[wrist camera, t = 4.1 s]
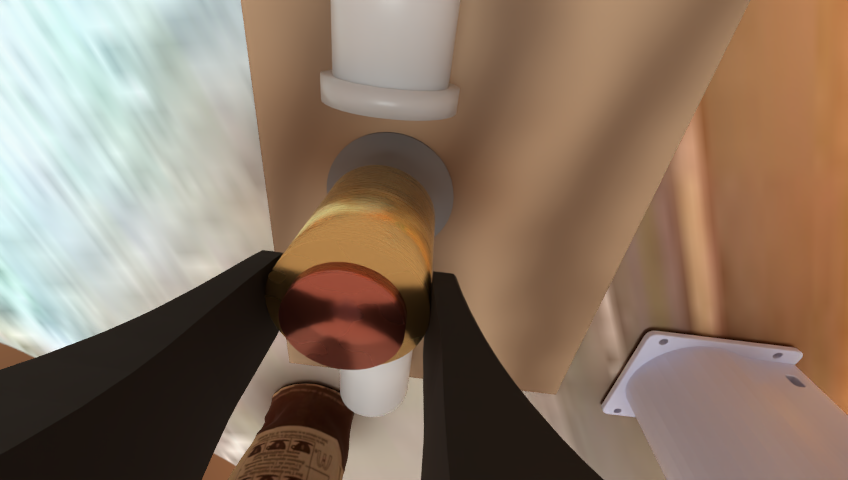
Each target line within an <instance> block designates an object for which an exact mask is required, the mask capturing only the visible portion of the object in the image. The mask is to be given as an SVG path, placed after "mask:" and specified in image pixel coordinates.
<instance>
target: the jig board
mask: <svg viewBox="0 0 848 480" xmlns="http://www.w3.org/2000/svg"><path fill="white" fill-rule="evenodd" d="M749 2H750V0H460V6H459V14H458V21H457V28H456V36H455V43H454V50H453V58H452V65H451V73H450V80H449V83H451V84H454V85H456V86H458V87H459V88H460V91H459V98H458V104H457V111H456V115H455V116H453V117H450V118H447V119H441V120H430V121H407V120H392V119H383V118H375V117H368V116H362V115H357V114H352V113H348V112H344V111H341V110H338V109H335V108H332V107H329V106H328V105H326V104H324V103H323V102H322V101H321V87H320V73H321V72H322V71H326V70H332V39H331V0H241V5H242V13H243V20H244V28H245V35H246V42H247V50H248V57H249V65H250V72H251V80H252V87H253V94H254V102H255V109H256V117H257V124H258V132H259V139H260V146H261V154H262V161H263V169H264V176H265V184H266V191H267V198H268V206H269V213H270V221H271V228H272V236H273V243H274V250H275V252H281V253H283V254H284V252H285V251H286V250H287V248H288V247H289V245H290V244H291V243H292V241H293V240H294V239H295V237H296V236H297V235H298V233H299V232H300V231H301V229H302V228H303V227H304V225H305V224H306V222H307V221H308V220H309V218H310V217H311V216H312V214H313V213H314V212H315V210H316V209H317V208H318V206H319V205H320V204H321V202H322V201H323V199H324V198H325V197H326V195H327V178H328V174H329V171H330V168H331V165H332V163H333V162H334V160H335V158H336V157H337V156H338V154H339V153H340V152H341V151H342V150H343V149H344V148H345V147H346V146H347V145H348V144H350V143H351V142H352V141H354V140H356V139H358V138H360V137H362V136H365V135H368V134H372V133H377V132H395V133H400V134H405V135H408V136H411V137H413V138H415V139H417V140H419V141H421V142H423V143H424V144H426V145H427V146H429V147H430V148H431V149H432V150H433V151H434V152H435V153H436V154H437V155H438V156H439V157H440V158H441V160H442V161H443V163H444V164H445V166H446V168H447V170H448V172H449V174H450V177H451V180H452V185H453V196H454V198H453V207H452V211H451V214H450V217H449V219H448V221H447V223H446V224H445V226H444V227H443V229H442V230H441V231H440V232H439V233H438V234H437V235H436V236H435V237H434V248H433V265H432V276H433V271H436V272H444V273H452V274H454V275H455V276H456V277H457V280H458V283H459V286H460V288H461V291H462V293H463V296H464V298H465V300H466V302H467V304H468V307H469V309H470V311H471V313H472V315H473V317H474V318H475V320H476V322H477V324H478V326H479V328H480V330H481V331H482V333H483V335H484V337H485V338H486V340H487V342H488V343H489V345H490V347H491V348H492V350H493V352H494V353H495V355H496V356H497V358H498V359H499V361H500V362H501V364H502V365H503V367H504V368H505V370H506V371H507V372H508V374H509V375H510V376H511V378H512V379H513V381H514V382H515V383H516V385H517V386H518V387H519V388H520V390H522V391H531V392H539V393H547V394H556V393H557V391H558V389H559V387H560V385H561V383H562V381H563V379H564V377H565V375H566V373H567V371H568V368H569V366H570V364H571V362H572V360H573V358H574V356H575V354H576V352H577V350H578V348H579V346H580V344H581V342H582V340H583V338H584V336H585V334H586V332H587V330H588V328H589V326H590V324H591V322H592V320H593V318H594V316H595V314H596V312H597V310H598V308H599V306H600V304H601V302H602V300H603V298H604V296H605V294H606V292H607V290H608V288H609V285H610V283H611V281H612V279H613V277H614V275H615V273H616V271H617V269H618V267H619V265H620V263H621V261H622V259H623V257H624V255H625V253H626V251H627V249H628V247H629V245H630V243H631V241H632V239H633V237H634V235H635V233H636V231H637V229H638V227H639V225H640V223H641V221H642V219H643V217H644V215H645V213H646V211H647V209H648V207H649V205H650V202H651V200H652V198H653V196H654V194H655V192H656V190H657V188H658V186H659V184H660V182H661V180H662V178H663V176H664V174H665V172H666V170H667V168H668V166H669V164H670V162H671V160H672V158H673V156H674V154H675V152H676V150H677V148H678V146H679V144H680V142H681V140H682V138H683V136H684V134H685V132H686V130H687V128H688V126H689V124H690V121H691V119H692V117H693V115H694V113H695V111H696V109H697V107H698V105H699V103H700V101H701V99H702V97H703V95H704V93H705V91H706V89H707V87H708V85H709V83H710V81H711V79H712V77H713V75H714V73H715V71H716V69H717V67H718V65H719V63H720V61H721V59H722V57H723V55H724V53H725V51H726V49H727V47H728V45H729V43H730V41H731V38H732V36H733V34H734V32H735V30H736V28H737V26H738V24H739V22H740V20H741V18H742V16H743V14H744V12H745V10H746V8H747V6H748V4H749ZM286 340H287V339H286ZM423 344H424V337H423V338H422V340H421V341H420V343H419V344H418V345H417V346H416V347H415V348H414V349H413V352H412V359H411V366H410V374H409V377H414V378H422V379H423ZM287 347H288V354H289V362H290V363H297V364H305V365H313V366H322V367H328V366H325V365H322V364H319V363H317V362H315V361H313V360H311V359H309V358H307V357H306V356H304V355H303V354H301V353H300V352H299V351H297V350H296V349H295V348H294V347H293V346H292V345H291V344H290V343H289V341H288V340H287ZM330 368H332V367H330Z"/></svg>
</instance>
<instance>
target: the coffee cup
mask: <svg viewBox="0 0 848 480" xmlns="http://www.w3.org/2000/svg"><path fill="white" fill-rule="evenodd" d="M353 415H354V412H353V411H351V410H350V409H349V408H348V407H347V406H346V405H345V404H344V402H343V400H342V398H341V394H340V393H339V392H337V391H335V390H332V389H330V388H327V387H324V386H320V385H316V384H294V385H290V386H286V387H283V388H281V389H280V390H279V391H278V392H276V393H274V395H273V397H272V403H271V406H270V409H269V411H268V413H267V414H266V416H265V423H264V425H263V427H262V429H261V430H260V431H259V432H258V433H257V435H256V437H255V439H254V441H253V443H252V444H251V446H250V447H249V448H248V450H247V451H246V452H245V454H244V455H243V457H242V458H241V460H240V461H239V463H238V464H237V466H236V467H235V469H234V470H233V471H232V473H231V475H230V477H229V478H228V480H342V477H343V474H344V471H345V466H346V463H347V458H348V451H349V438H350V429H351V424H352V420H353Z"/></svg>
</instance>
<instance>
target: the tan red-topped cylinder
mask: <svg viewBox="0 0 848 480" xmlns="http://www.w3.org/2000/svg"><path fill="white" fill-rule="evenodd" d="M434 230H435V211H434V207H433V203H432V201H431V198H430V196H429V195H428V193H427V191H426V190H425V189H424V187H423V186H422V185H421V184H420V183H419V182H418V181H417V180H416V179H415V178H413V177H412V176H411V175H409V174H407V173H406V172H404V171H401V170H399V169H397V168H393V167H390V166H384V165H367V166H363V167H359V168H356V169H353V170H351V171H350V172H348V173H346V174H345V175H343V176H342V177H341V178H340V179H339V180H338V181H337V182H336V183H335V185H334V186H333V187H332V189H331V190H330V191H329V193H328V194H327V195H326V197H325V198H324V199H323V201H322V202H321V204H320V205H319V206H318V208H317V209H316V210H315V212H314V213H313V214H312V216H311V217H310V218H309V220H308V221H307V222H306V224H305V225H304V227H303V228H302V229H301V231H300V232H299V233H298V235H297V236H296V237H295V239H294V240H293V241H292V243H291V244H290V245H289V247H288V248H287V250H286V251H285V252H284V254H283V255H282V256H281V258H280V259H279V260H278V262H277V263H276V264H275V266H274V267H273V269H272V270H271V272H270V274H269V276H268V278H267V282H266V286H265V300H266V306H267V309H268V312H269V314H270V317H271V319H272V320H273V322H274V324H275V325H276V327H277V328H278V329H279V331H280V332H281V333H282V334H283V335H284V336H285V337H286V339H287V340H288V341H289V343H290V344H291V345H292V346H293V347H294V348H295V349H296V350H297V351H299V352H300V353H301V354H303V355H304V356H306V357H307V358H309V359H311V360H313V361H315V362H317V363H319V364H322V365H325V366H328V367H332V368H336V369H343V370H361V369H368V368H372V367H375V366H378V365H381V364H386V363H389V362H392V361H395V360H397V359H399V358H401V357H403V356H404V355H406V354H408V353H409V352H410V351H412V350H413V349H414V348H415V347H416V346H417V345H418V344H419V343H420V341H421V340H422V338H423V337H424V335H425V333H426V330H427V328H428V324H429V318H430V299H431V283H432V265H433V248H434Z"/></svg>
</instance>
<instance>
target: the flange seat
mask: <svg viewBox="0 0 848 480" xmlns="http://www.w3.org/2000/svg"><path fill="white" fill-rule="evenodd" d="M367 165H384V166H390V167H393V168H397V169H399V170H401V171H404V172H406V173H407V174H409V175H411V176H412V177H413V178H415V179H416V180H417V181H418V182H419V183H420V184H421V185H422V186H423V187H424V189H425V190H426V191H427V193H428V195H429V196H430V198H431V201H432V203H433V207H434V211H435V230H434V237H435V236H436V235H437V234H438V233H439V232H440V231H441V230H442V229H443V227H444V226H445V224H446V223H447V221H448V219H449V217H450V214H451V211H452V207H453V198H454V196H453V185H452V180H451V177H450V174H449V172H448V170H447V168H446V166H445V164H444V163H443V161H442V160H441V158H440V157H439V156H438V155H437V154H436V153H435V152H434V151H433V150H432V149H431V148H430V147H429V146H427V145H426V144H424V143H423V142H421V141H419V140H417V139H415V138H413V137H411V136H408V135H405V134H400V133H395V132H377V133H372V134H368V135H365V136H362V137H360V138H358V139H356V140H354V141H352V142H351V143H350V144H348V145H347V146H346V147H345V148H344V149H343V150H342V151H341V152H340V153H339V154H338V156H337V157H336V158H335V160H334V162H333V163H332V165H331V168H330V171H329V174H328V178H327V194H328V193H329V191H330V190H331V189H332V187H333V186H334V185H335V183H336V182H337V181H338V180H339V179H340V178H341V177H342V176H343V175H345V174H346V173H348V172H350V171H351V170H353V169H356V168H359V167H363V166H367Z"/></svg>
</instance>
